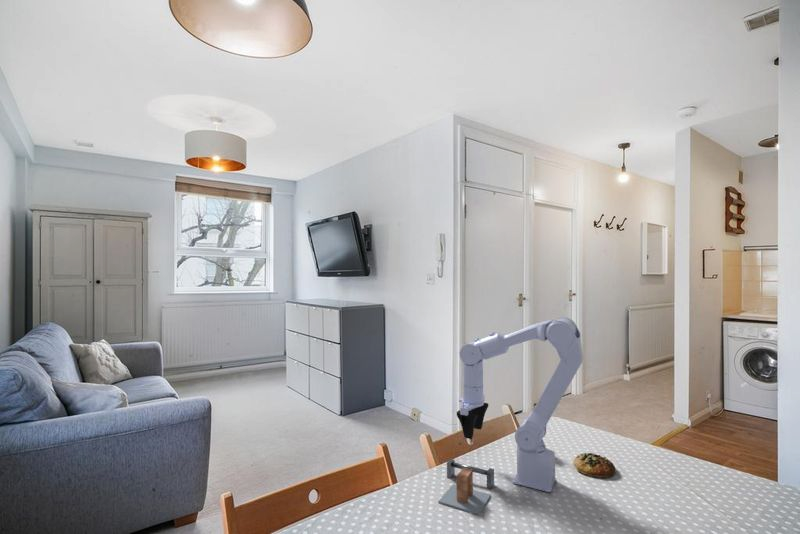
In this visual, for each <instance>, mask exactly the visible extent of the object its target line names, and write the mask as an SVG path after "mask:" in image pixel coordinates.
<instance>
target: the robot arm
mask: <svg viewBox="0 0 800 534" xmlns="http://www.w3.org/2000/svg"><path fill="white" fill-rule="evenodd" d="M535 339H536V340H539V341H541V342H546V341H548V342H549V343H550V344H551V345H552V347H554V348H555V350H556V353H557V355H558V357H559V359H560V361H559V363H558V364H557V366H556V368H555V370H554V371H553V374H552V375H551V377H550V378H549V381H548V383H547V384H546V386H545V388H544V390H543V392H542V393H541V395H540V397H539V399H538V401H537V403H536V404H535V406H534V408H533V409H532V411H531V413H530V415H529V416H527V417H526V418H524V419H525V420H524V419H523V422H522V423H521V425H520V426H519V427H518V428H517V429H516V430H515V433H514V440H515V443H516V474H515V476H514V478H513V480H512V484H515V485H519V486H523V487H527V488H530V489H533V490H539V491H543V492H546V493H551V492H552V489H553V488H554V484H555V482H556V480H557V479H556V455H555V451H554V450H552V449H549V448H547V446H546V443H545V442H544V439H543V438H544V437H545V436H546V434H547V425H548V423H549V421H550V419H551V417H552V415H553V414H554V412H555V410H556V409H557V407H558V405H559V403H560V402H561V400H562V398H563V397H564V395H565V393H566V392H567V390H568V388H569V386H570V384H571V383H572V381H573V379H574V377H575V375H576V374H577V372H578V370H579V368H580V367H581V365H582V363H583V360H584V357H583V356H584V355H583V348H582V340H581V332H580V330H579V327H578V326H577V324H576V323H575V321H574V320H572V319H571V318H569V317H565V316H564V317H559V318H557V319H555V320H554V319H549V320H544V321H540V322H537V323H534V324H532V325H529V326H527V327H524V328H522V329H519V330H516V331H512V332H511V333H508V334H506V335H505V334H503V333H500V332H497V333H496V332H490V333H489V336H486V337H483V338H480V339H479V338H476V339H474V340H473V341H471V342H469V343H466V344H464V345H463V346H462V347H461V348H460V349H459V358H460V360H461V362H462V397H460V398H459V399H458V402H459V403H461V406H460V407H459V410H457V411H456V417H457V419H458V420H459V423H460V426H461V430H462V433H463V437H464V439H469V440H472V439H473V437H474V431H475V430H479V431H480V430H482V428H483V425H484V418H485V414H486V412H487V409H488V408H489V403H488V402H485V399H486V398H485V394H484V365H483V364H484V362H483V360H489V359H492V358H495V357H497V356H500V355H504V354H507V352H508V351H509V348H510V347H512V346H515V345H518V344H522V343H524V342H528V341H532V340H535Z"/></svg>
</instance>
